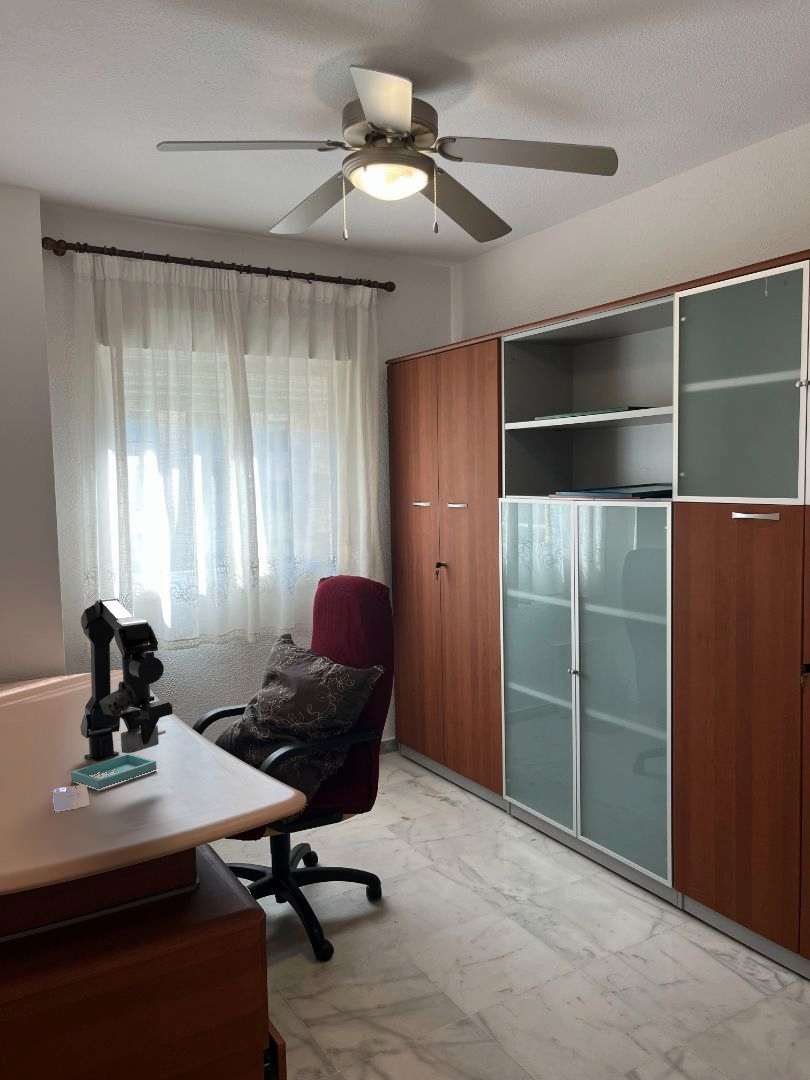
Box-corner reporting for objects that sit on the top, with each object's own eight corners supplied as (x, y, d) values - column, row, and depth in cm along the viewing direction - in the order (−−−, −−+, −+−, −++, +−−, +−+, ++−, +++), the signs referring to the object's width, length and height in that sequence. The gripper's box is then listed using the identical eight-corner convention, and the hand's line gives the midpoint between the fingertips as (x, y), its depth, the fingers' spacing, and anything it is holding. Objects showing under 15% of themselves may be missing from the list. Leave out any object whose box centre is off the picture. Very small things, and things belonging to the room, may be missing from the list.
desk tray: (71, 782, 188) (71, 771, 188) (129, 762, 201) (128, 753, 201) (98, 791, 181) (98, 780, 181) (156, 771, 194) (156, 761, 194)
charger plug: (128, 754, 177) (127, 736, 177) (118, 751, 179) (117, 734, 179) (169, 740, 186) (168, 724, 186) (159, 738, 188) (158, 721, 188)
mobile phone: (53, 810, 170) (51, 788, 183) (53, 815, 170) (51, 792, 183) (91, 803, 173) (86, 781, 186) (91, 807, 173) (86, 786, 186)
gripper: (81, 678, 180) (85, 746, 181) (128, 688, 169) (133, 759, 170) (124, 669, 189) (128, 733, 190) (172, 677, 178) (176, 745, 179)
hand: (140, 742), depth 182 cm, fingers closed on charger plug, 4 cm apart
